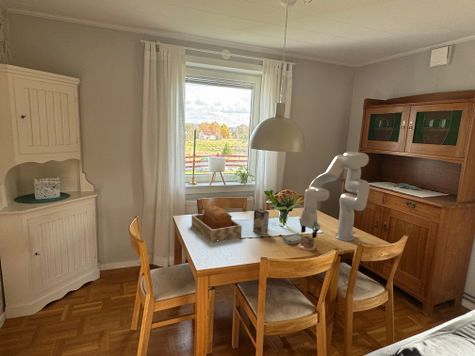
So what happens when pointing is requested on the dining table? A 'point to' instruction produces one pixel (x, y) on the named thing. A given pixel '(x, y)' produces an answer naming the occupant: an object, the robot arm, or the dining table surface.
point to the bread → (216, 218)
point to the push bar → (288, 239)
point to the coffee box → (260, 221)
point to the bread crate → (216, 233)
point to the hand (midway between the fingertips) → (308, 234)
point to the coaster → (306, 248)
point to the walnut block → (307, 242)
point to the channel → (293, 240)
